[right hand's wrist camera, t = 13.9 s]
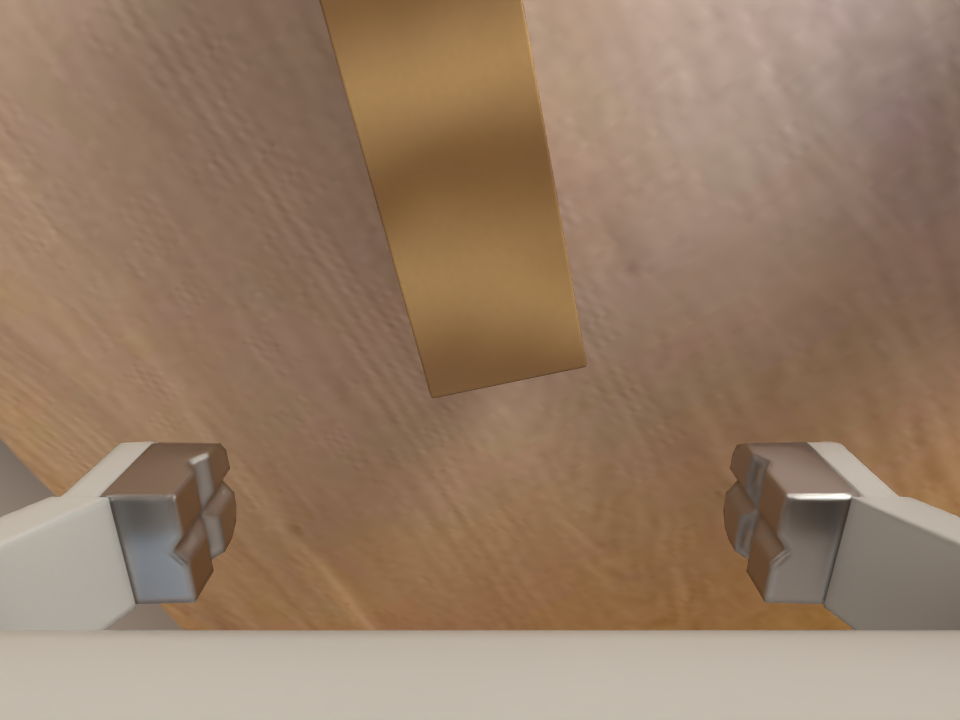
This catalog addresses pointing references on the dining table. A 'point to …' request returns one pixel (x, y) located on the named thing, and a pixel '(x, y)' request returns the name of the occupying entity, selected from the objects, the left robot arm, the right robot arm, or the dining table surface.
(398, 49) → the box
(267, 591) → the dining table surface
